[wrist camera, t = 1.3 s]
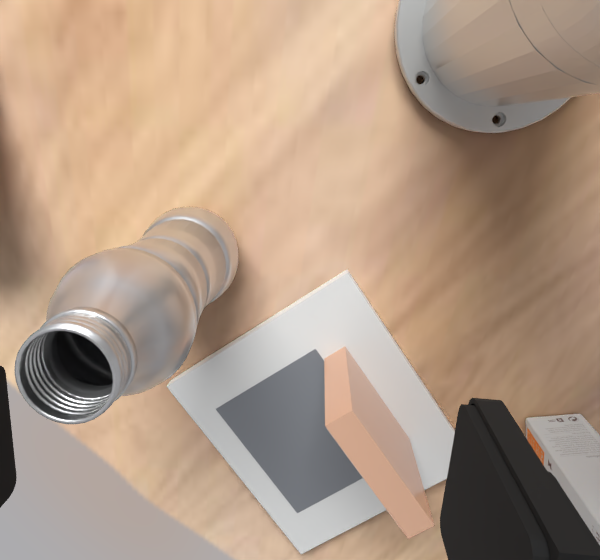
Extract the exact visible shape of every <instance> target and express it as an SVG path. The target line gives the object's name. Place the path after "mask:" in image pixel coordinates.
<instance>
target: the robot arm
mask: <svg viewBox="0 0 600 560" xmlns="http://www.w3.org/2000/svg"><path fill="white" fill-rule="evenodd" d="M394 38H395V47H396V56H397V59H398V62H399V66H400V69H401V72H402V75H403V77H404V79H405V81H406V83H407V85H408V87H409V89H410V91H411V92H412V93H413V95H414V96H415V97H416V98H417V100H418V101H419V102H420V103H421V105H422V106H423V107H424V108H426V109H427V110H428V111H429V112H430V113H432V114H433V115H434V116H435V117H437V118H438V119H440V120H442V121H444V122H446V123H448V124H450V125H451V126H453V127H457V128H460V129H464V130H467V131H471V132H482V133H501V132H507V131H511V130H516V129H521V128H524V127H526V126H529V125H531V124H533V123H536V122H538V121H541V120H542V119H544V118H545V117H547V116H549V115H550V114H552V113H553V112H555V111H556V110H558V109H559V108H560V107H561V106H563V105H564V104H565V103H566V102H567V101H568V100H569V99H570V98H571V97H576V96H583V95H591V94H598V93H600V0H399V2H398V6H397V10H396V16H395V31H394ZM417 76H422V77H423V83H422V84H418V83H417V81H416V78H417ZM494 116H497V117H498V122H497V123H496V124H494V123H493V122H492V118H493V117H494ZM15 484H16V468H15V459H14V449H13V439H12V430H11V420H10V410H9V401H8V391H7V382H6V373H5V370H4V368H3V367H2V366H0V507H1V506H2V505H3V504H4V503H5V501H6V500H7V499H8V498H9V497H10V495H11V493H12V492H13V490H14V487H15ZM440 528H441V535H442V538H443V542H444V546H445V549H446V553H447V556H448V560H600V545H599V544H598V542H597V540H596V539H595V537H594V536H593V534H592V533H591V531H590V530H589V528H588V527H587V525H586V524H585V522H584V521H583V519H582V518H581V516H580V514H579V513H578V511H577V510H576V508H575V507H574V505H573V504H572V502H571V501H570V499H569V498H568V496H567V495H566V493H565V492H564V490H563V488H562V487H561V485H560V484H559V482H558V481H557V479H556V478H555V477H554V475H553V474H552V473H551V472H549V471H547V470H546V468H545V467H544V465H543V464H542V462H541V461H540V459H539V458H538V456H537V454H536V453H535V451H534V450H533V448H532V447H531V445H530V443H529V442H528V440H527V439H526V437H525V436H524V434H523V433H522V431H521V429H520V428H519V426H518V425H517V423H516V422H515V420H514V419H513V417H512V415H511V414H510V412H509V411H508V409H507V408H506V406H505V405H504V403H503V402H502V401H501V400H490V399H478V398H472V399H471V400H470V401H469V404H468V405H464V404H462V405H461V406H460V408H459V412H458V417H457V423H456V429H455V434H454V440H453V446H452V452H451V458H450V463H449V469H448V475H447V481H446V487H445V492H444V498H443V504H442V510H441V516H440Z"/></svg>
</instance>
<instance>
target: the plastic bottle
mask: <svg viewBox="0 0 600 560" xmlns="http://www.w3.org/2000/svg"><path fill="white" fill-rule="evenodd" d="M237 267H238V246H237V241H236V238H235V236H234V233H233V231H232V230H231V228H230V227H229V225H228V224H227V223H226V222H225V221H224V220H223V219H222V218H221V217H220V216H218V215H217V214H215V213H214V212H212V211H209V210H207V209H203V208H198V207H180V208H175V209H172V210H170V211H167V212H165V213H163V214H162V215H161V216H159V217H158V218H157V219H156V220H155V221H154V222H153V223H152V224H151V225H150V226H149V228H148V229H147V230H146V231H145V233H144V235H143V237H142V238H141V239H140V240H139V241H137V242H135V243H133V244H131V245H128V246H123V247H119V248H114V249H109V250H104V251H101V252H99V253H96V254H94V255H91V256H89V257H87V258H85V259H82V260H81V261H80V262H78V263H77V264H75V265H74V266H73V267H71V268H70V269H69V271H68V272H67V273H66V274H65V275H64V276H63V277H62V279H61V281H60V283H59V285H58V286H57V288H56V290H55V292H54V294H53V295H52V297H51V299H50V303H49V306H48V310H47V318H46V322H45V323H44V324H43V326H42V327H41V328H40V329H39V330H37V331H36V332H35V333H33V334H32V335H31V336H30V337H29V338H28V339H27V340H26V341H25V342H24V344H23V345H22V346H21V348H20V350H19V352H18V354H17V358H16V361H15V378H16V382H17V385H18V388H19V391H20V392H21V394H22V396H23V398H24V399H25V401H26V402H27V403H28V404H29V405H30V406H31V407H32V408H33V409H34V410H35V411H36V412H38V413H39V414H40V415H42V416H44V417H46V418H47V419H50V420H52V421H55V422H59V423H64V424H80V423H85V422H88V421H90V420H93V419H95V418H96V417H98V416H100V415H101V414H102V413H104V412H105V411H106V410H107V409H108V408H109V407H110V406H111V405H112V403H113V402H114V401H115V400H117V399H118V398H119V397H120V396H128V395H133V394H139V393H142V392H144V391H147V390H149V389H151V388H153V387H155V386H157V385H159V384H160V383H162V382H164V381H165V380H167V379H168V378H170V377H171V376H172V375H173V374H174V373H175V372H176V371H177V370H178V369H179V368H180V367H181V365H182V364H183V362H184V360H185V359H186V357H187V355H188V353H189V350H190V348H191V346H192V343H193V340H194V338H195V334H196V330H197V326H198V322H199V318H200V315H201V313H202V311H203V309H204V307H205V306H206V305H208V304H210V303H211V302H213V301H214V300H216V299H217V298H218V297H220V296H221V295H222V294H223V293H224V292H225V291H226V290H227V289H228V288H229V286H230V285H231V283H232V281H233V280H234V277H235V275H236V272H237Z"/></svg>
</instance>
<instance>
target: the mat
mask: <svg viewBox="0 0 600 560" xmlns="http://www.w3.org/2000/svg"><path fill="white" fill-rule="evenodd" d="M345 346H346V348H347V349H348V351H349V352H350V354H351V355H352V357H353V358H354V359H355V361H356V362H357V364H358V365H359V367H360V368H361V370H362V371H363V372H364V374H365V375H366V377H367V378H368V380H369V381H370V382H371V384H372V385H373V387H374V388H375V390H376V391H377V393H378V394H379V395H380V397H381V398H382V400H383V401H384V403H385V404H386V406H387V407H388V408H389V410H390V411H391V413H392V414H393V416H394V417H395V418H396V420H397V421H398V423H399V424H400V426H401V427H402V429H403V430H404V431H405V433H406V434H407V436H408V437H409V439H410V442H411V445H412V449H413V452H414V456H415V459H416V463H417V466H418V469H419V473H420V476H421V480H422V483H423V487H424V490H426V489H428V488H430V487H431V486H433V485H435V484H437V483H439V482H441V481H443V480H445V479H447V475H448V469H449V463H450V458H451V452H452V446H453V440H454V434H455V430H454V428H453V427H452V425H451V424H450V422H449V421H448V419H447V418H446V416H445V415H444V413H443V412H442V410H441V409H440V407H439V406H438V404H437V403H436V401H435V400H434V398H433V397H432V395H431V394H430V392H429V391H428V389H427V388H426V386H425V385H424V383H423V382H422V380H421V379H420V377H419V376H418V374H417V373H416V371H415V370H414V368H413V367H412V365H411V364H410V362H409V361H408V359H407V358H406V356H405V355H404V353H403V352H402V350H401V349H400V347H399V346H398V344H397V343H396V341H395V340H394V338H393V337H392V335H391V334H390V332H389V331H388V329H387V328H386V326H385V325H384V323H383V322H382V320H381V319H380V317H379V316H378V314H377V313H376V311H375V310H374V308H373V307H372V305H371V304H370V302H369V301H368V299H367V298H366V296H365V295H364V293H363V292H362V290H361V289H360V287H359V286H358V284H357V283H356V281H355V280H354V278H353V277H352V275H351V274H350V272H349V271H348V269H346V270H345V271H343V272H342V273H340V274H338V275H337V276H335V277H334V278H332V279H331V280H329V281H327V282H326V283H324V284H323V285H321V286H319V287H318V288H316V289H315V290H313V291H311V292H310V293H308V294H307V295H305V296H304V297H302V298H300V299H299V300H297V301H296V302H294V303H292V304H291V305H289V306H288V307H286V308H284V309H283V310H281V311H280V312H278V313H276V314H275V315H273V316H272V317H270V318H269V319H267V320H265V321H264V322H262V323H261V324H259V325H257V326H256V327H254V328H253V329H251V330H249V331H248V332H246V333H245V334H243V335H242V336H240V337H238V338H237V339H235V340H234V341H232V342H230V343H229V344H227V345H226V346H224V347H222V348H221V349H219V350H218V351H216V352H215V353H213V354H211V355H210V356H208V357H207V358H205V359H203V360H202V361H200V362H199V363H197V364H195V365H194V366H192V367H191V368H189V369H188V370H186V371H184V372H183V373H181V374H180V375H178V376H176V377H175V378H173V379H172V380H170V382H169V383H168V385H167V388H168V389H169V390H170V391H171V393H172V394H173V395H174V396H175V398H176V399H177V400H178V401H179V403H180V404H181V405H182V406H183V408H184V409H185V410H186V411H187V413H188V414H189V415H190V416H191V418H192V419H193V420H194V421H195V423H196V424H197V425H198V426H199V428H200V429H201V430H202V431H203V433H204V434H205V435H206V436H207V438H208V439H209V440H210V441H211V443H212V444H213V445H214V446H215V448H216V449H217V450H218V451H219V453H220V454H221V455H222V456H223V458H224V459H225V460H226V461H227V463H228V464H229V465H230V466H231V468H232V469H233V470H234V471H235V473H236V474H237V475H238V476H239V478H240V479H241V480H242V481H243V483H244V484H245V485H246V486H247V488H248V489H249V490H250V491H251V493H252V494H253V495H254V496H255V497H256V499H257V500H258V501H259V502H260V504H261V505H262V506H263V507H264V509H265V510H266V511H267V512H268V514H269V515H270V516H271V517H272V519H273V520H274V521H275V522H276V524H277V525H278V526H279V527H280V529H281V530H282V531H283V532H284V534H285V535H286V536H287V537H288V539H289V540H290V541H291V542H292V544H293V545H294V546H295V547H296V549H297V550H298V551H299V552H300V554H303V553H305V552H307V551H309V550H310V549H312V548H314V547H316V546H318V545H320V544H322V543H324V542H326V541H328V540H330V539H332V538H333V537H335V536H337V535H339V534H341V533H343V532H345V531H347V530H349V529H351V528H353V527H355V526H357V525H358V524H360V523H362V522H364V521H366V520H368V519H370V518H372V517H374V516H376V515H378V514H380V513H382V512H383V511H385V510H386V509H385V507H384V506H383V505H382V503H381V502H380V501H379V499H378V498H377V496H376V495H375V494H374V492H373V491H372V490H371V488H370V487H369V486H368V484H367V483H366V481H365V480H364V479H363V477H362V476H361V475H360V473H359V472H358V471H357V469H356V468H355V466H354V465H353V464H352V462H351V461H350V460H349V458H348V457H347V456H346V454H345V453H344V452H343V450H342V449H341V447H340V446H339V445H338V443H337V442H336V441H335V439H334V438H333V437H332V435H331V434H330V432H329V431H328V430H327V428H326V426H325V378H324V358H326V357H328V356H329V355H331V354H333V353H335V352H336V351H338V350H340V349H341V348H343V347H345Z"/></svg>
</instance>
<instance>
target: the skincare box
mask: <svg viewBox="0 0 600 560" xmlns="http://www.w3.org/2000/svg"><path fill="white" fill-rule="evenodd" d="M525 423H526V439H527V440H528V442H529V443H530V445H531V447H532V448H533V450H534V451H535V453H536V454H537V456H538V458H539V459H540V461H541V462H542V464H543V465H544V467H545V468H546V470H547V471H549V472H551V473H552V474H553V475H554V477H555V478H556V479H557V481H558V482H559V484H560V485H561V487H562V488H563V490H564V492H565V493H566V495H567V496H568V498H569V499H570V501H571V502H572V504H573V505H574V507H575V508H576V510H577V511H578V513H579V514H580V516H581V518H582V519H583V521H584V522H585V524H586V525H587V527H588V528H589V530H590V531H591V533H592V534H593V536H594V537H595V539H596V540H597V542H598V544H599V545H600V435H599V434H598V433H597V431H596V430H595V429H594V428H593V427H592V426H591V425H590V424H589V423H588V421H587V420H586V419H585V418H584V417H583V416H582V415H581V414H567V415H555V416H543V417H529V418H526V420H525Z"/></svg>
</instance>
